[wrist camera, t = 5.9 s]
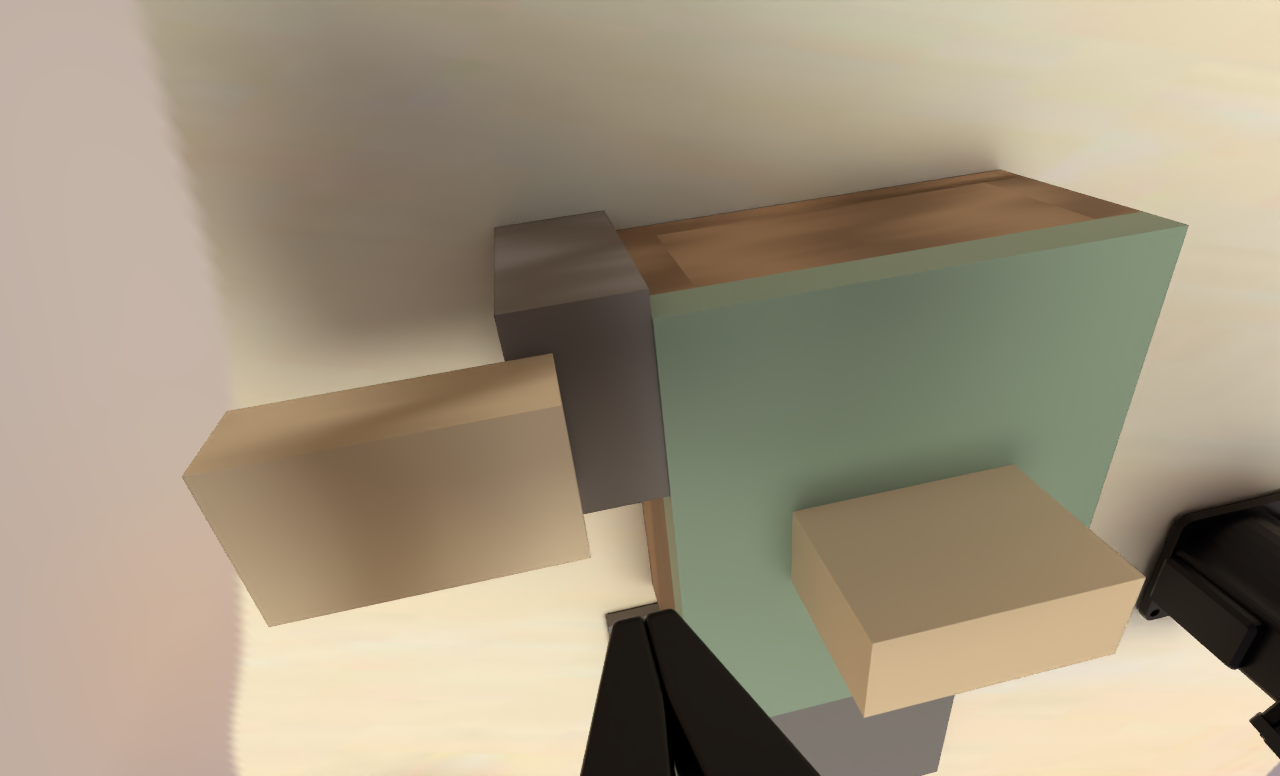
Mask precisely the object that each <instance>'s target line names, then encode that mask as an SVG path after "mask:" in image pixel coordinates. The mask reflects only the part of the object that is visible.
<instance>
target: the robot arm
mask: <svg viewBox="0 0 1280 776" xmlns="http://www.w3.org/2000/svg"><path fill="white" fill-rule="evenodd" d="M1139 613H1140V614H1141V615H1142V616H1143V617H1144V618H1145V619H1146V620H1154V619H1158V618H1162V617H1166V616H1171V617H1172V618H1173V619H1174V620H1175V621H1176V622H1177V623H1178V624H1180V625H1181V626H1182V627H1183V628H1184V629H1185V630H1186V631H1188V632H1189V633H1190V634H1191V635H1192V636H1193V637H1194V638H1195V639H1197V640H1198V641H1199V642H1200V643H1201V644H1202V645H1203V646H1205V647H1206V648H1207V649H1208V650H1209V651H1210V652H1211V653H1213V654H1214V655H1215V656H1216V657H1217V658H1218V659H1219V660H1220V661H1222V662H1223V663H1224V664H1225V665H1226V666H1227V667H1229V668H1231V669H1234V670H1236V669H1239V670H1240V671H1241V672H1242V673H1243V674H1245V675H1246V676H1247V677H1248V678H1249V679H1250V680H1251V681H1253V682H1254V683H1255V684H1256V685H1257V686H1258V687H1260V688H1261V689H1262V690H1263V691H1264V692H1265V693H1266V694H1268V695H1269V696H1270V697H1271V698H1272V699H1273V700H1274V701H1276V702H1275V703H1274V704H1273V705H1272V706H1270V707H1269V708H1268V709H1267V710H1266V711H1264V712H1263V713H1261V712H1259V713H1257V714H1256V715H1255V716H1254V717H1252V718H1251V719H1250V720H1249V721H1250V723H1251V724H1252V725H1253V726H1254V727H1255V728H1256V729H1257V730H1258V732H1259V733H1260V736H1261V737H1262V738H1263V739H1264V742H1265V743H1266V744H1267V745H1268V746H1269V747H1270V749H1271V750H1272V751H1273V752H1274V753H1275V754H1276V755H1277V756H1278V757H1279V759H1280V493H1278V494H1273V495H1269V496H1265V497H1261V498H1256V499H1252V500H1248V501H1243V502H1239V503H1235V504H1230V505H1226V506H1222V507H1218V508H1213V509H1209V510H1205V511H1200V512H1196V513H1192V514H1187V515H1185V516H1182V517H1181V518H1179V519H1178V520H1177V521H1176V522H1175V524H1174V526H1173V528H1172V530H1171V533H1170V535H1169V538H1168V540H1167V543H1166V545H1165V547H1164V550H1163V552H1162V555H1161V557H1160V559H1159V562H1158V564H1157V567H1156V569H1155V571H1154V574H1153V576H1152V579H1151V581H1150V584H1149V586H1148V588H1147V591H1146V593H1145V596H1144V598H1143V600H1142V603H1141V605H1140V608H1139ZM676 774H677V776H821V775H820V774H819V773H818V772H817V770H816V769H815V768H814V767H813V766H812V765H811V764H810V762H809V761H808V760H807V759H806V758H805V757H804V756H803V754H802V753H801V752H800V751H799V750H798V749H797V748H796V747H795V745H794V744H793V743H792V742H791V741H790V740H789V739H788V737H787V736H786V735H785V734H784V733H783V732H782V731H781V729H780V728H779V727H778V726H777V725H776V724H775V723H774V722H773V720H772V719H771V718H770V717H769V716H768V715H767V714H766V712H765V711H764V710H763V709H762V708H761V707H760V706H759V705H758V703H757V702H756V701H755V700H754V699H753V698H752V697H751V695H750V694H749V693H748V692H747V691H746V690H745V689H744V687H743V686H742V685H741V684H740V683H739V682H738V681H737V680H736V678H735V677H734V676H733V675H732V674H731V673H730V672H729V670H728V669H727V668H726V667H725V666H724V665H723V664H722V662H721V661H720V660H719V659H718V658H717V657H716V656H715V655H714V653H713V652H712V651H711V650H710V649H709V648H708V647H707V645H706V644H705V643H704V642H703V641H702V640H701V639H700V638H699V636H698V635H697V634H696V633H695V632H694V631H693V630H692V628H691V627H690V626H689V625H688V624H687V623H686V622H685V620H684V619H683V618H682V617H681V616H680V615H679V614H678V613H677V612H676V611H675V610H674V609H671V608H668V609H664V610H659V611H655V612H651V613H648V614H647V615H646V616H645V618H644V619H643V618H642V617H641V616H634V617H630V618H625V619H621V620H617V621H615V622H614V624H613V626H612V629H611V633H610V638H609V643H608V647H607V652H606V657H605V661H604V666H603V671H602V675H601V680H600V685H599V689H598V694H597V699H596V703H595V708H594V713H593V717H592V722H591V727H590V731H589V736H588V741H587V745H586V750H585V755H584V759H583V764H582V769H581V773H580V776H676Z"/></svg>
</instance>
